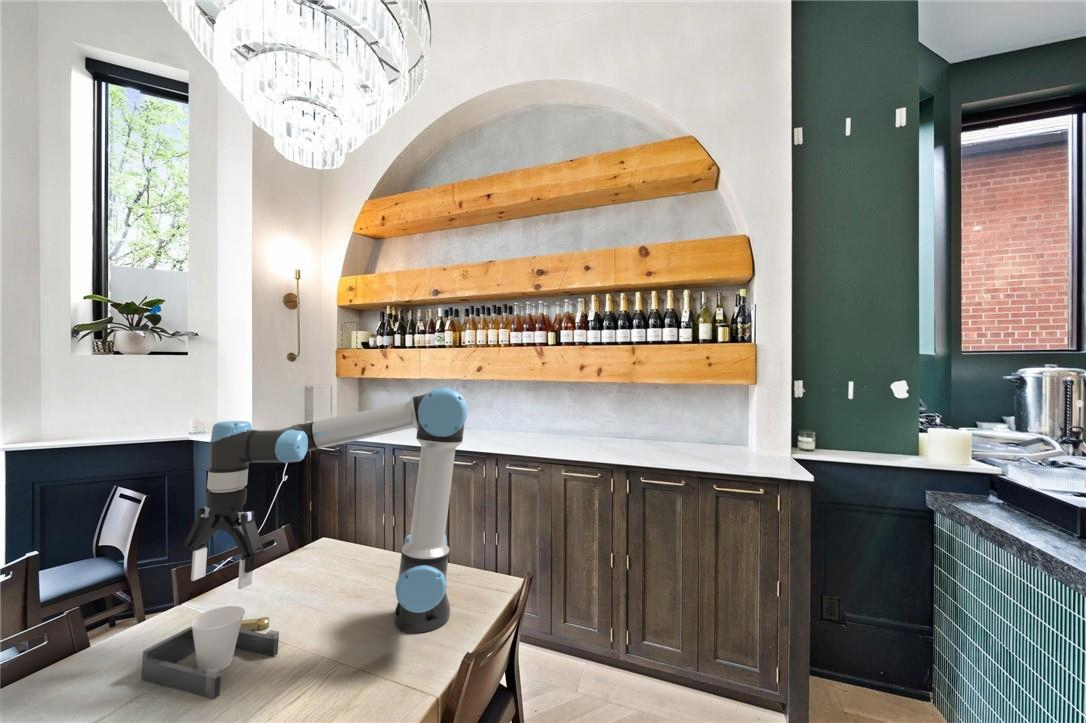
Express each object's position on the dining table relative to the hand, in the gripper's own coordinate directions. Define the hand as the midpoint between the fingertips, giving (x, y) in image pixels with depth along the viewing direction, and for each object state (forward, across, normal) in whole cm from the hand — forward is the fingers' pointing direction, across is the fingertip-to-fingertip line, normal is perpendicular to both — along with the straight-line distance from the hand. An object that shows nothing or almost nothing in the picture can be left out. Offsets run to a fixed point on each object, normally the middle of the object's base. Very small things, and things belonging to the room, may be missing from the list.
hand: (221, 582), depth 98 cm
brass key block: (+19, +6, -14) cm, 24 cm away
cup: (+19, 0, 0) cm, 19 cm away
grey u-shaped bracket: (+19, 0, 0) cm, 19 cm away
